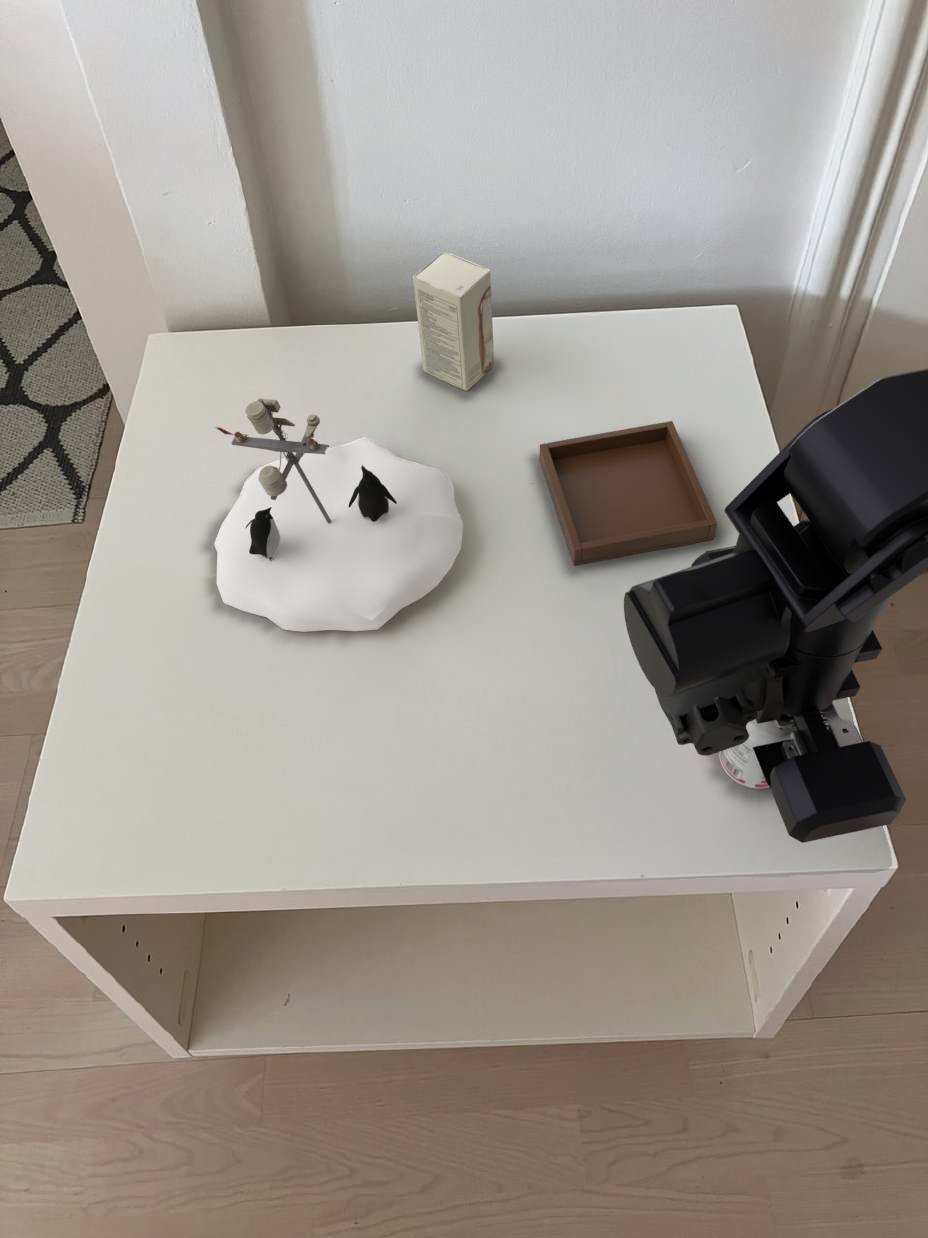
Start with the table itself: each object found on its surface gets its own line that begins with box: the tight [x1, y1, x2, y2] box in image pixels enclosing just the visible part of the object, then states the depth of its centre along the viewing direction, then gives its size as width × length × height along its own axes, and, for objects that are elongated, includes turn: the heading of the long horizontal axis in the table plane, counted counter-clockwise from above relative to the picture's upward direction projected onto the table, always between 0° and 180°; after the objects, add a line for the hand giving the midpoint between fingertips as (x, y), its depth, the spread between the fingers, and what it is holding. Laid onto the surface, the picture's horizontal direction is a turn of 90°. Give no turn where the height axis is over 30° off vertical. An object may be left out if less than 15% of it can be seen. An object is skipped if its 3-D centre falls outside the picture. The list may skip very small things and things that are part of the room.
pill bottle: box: [718, 715, 797, 790], centre depth 65 cm, size 5×5×8 cm
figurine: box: [213, 398, 464, 633], centre depth 74 cm, size 20×18×16 cm
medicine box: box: [412, 250, 495, 392], centre depth 87 cm, size 5×4×10 cm
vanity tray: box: [538, 420, 718, 566], centre depth 81 cm, size 11×11×2 cm
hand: (759, 743), depth 67 cm, fingers closed on pill bottle, 5 cm apart
